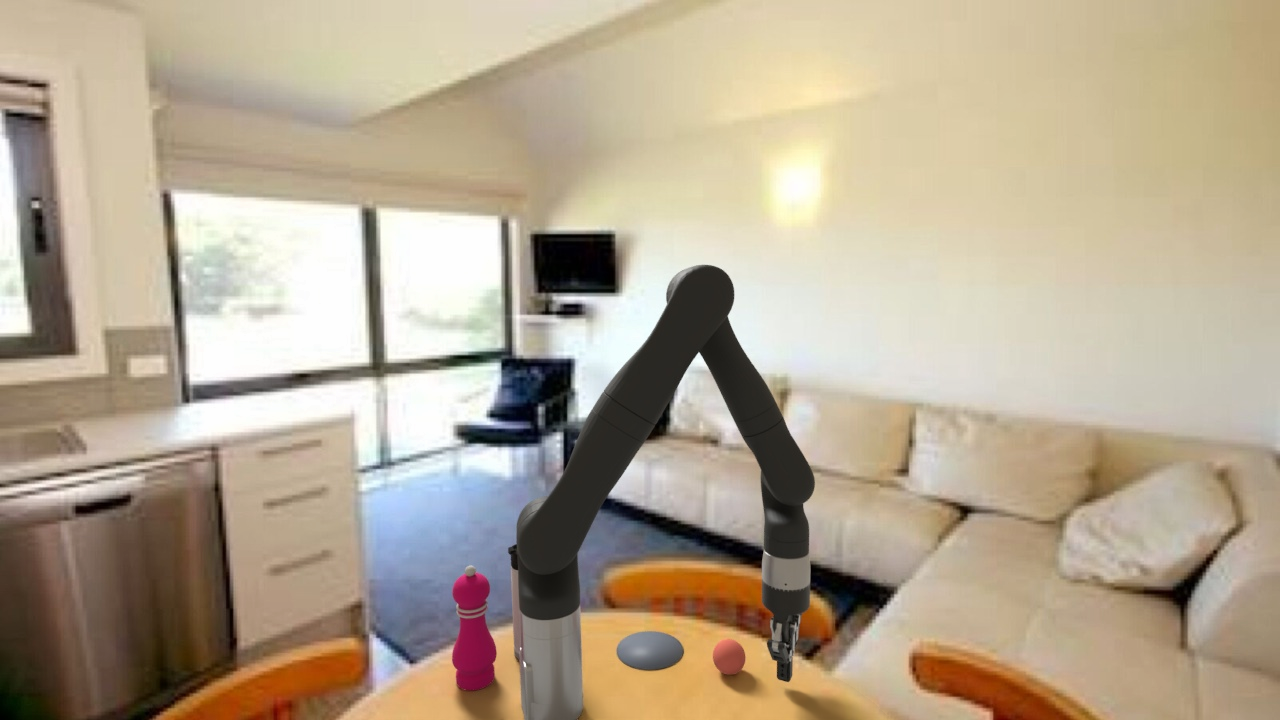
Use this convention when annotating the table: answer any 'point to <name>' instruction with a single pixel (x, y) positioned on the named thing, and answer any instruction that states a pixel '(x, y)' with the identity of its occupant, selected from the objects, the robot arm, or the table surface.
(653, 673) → the table surface
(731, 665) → the ball
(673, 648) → the disc
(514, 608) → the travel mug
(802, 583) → the robot arm
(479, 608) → the pepper mill
